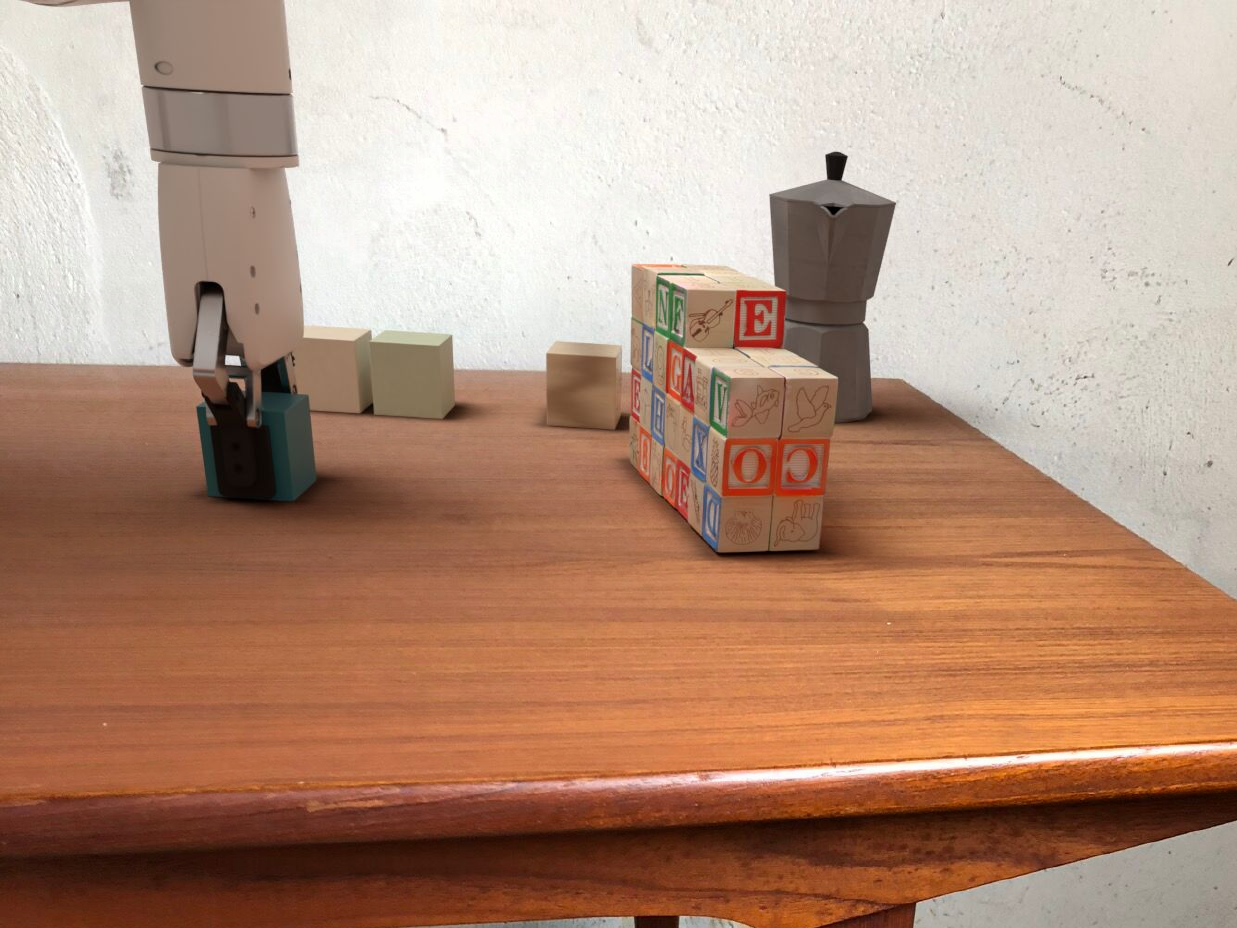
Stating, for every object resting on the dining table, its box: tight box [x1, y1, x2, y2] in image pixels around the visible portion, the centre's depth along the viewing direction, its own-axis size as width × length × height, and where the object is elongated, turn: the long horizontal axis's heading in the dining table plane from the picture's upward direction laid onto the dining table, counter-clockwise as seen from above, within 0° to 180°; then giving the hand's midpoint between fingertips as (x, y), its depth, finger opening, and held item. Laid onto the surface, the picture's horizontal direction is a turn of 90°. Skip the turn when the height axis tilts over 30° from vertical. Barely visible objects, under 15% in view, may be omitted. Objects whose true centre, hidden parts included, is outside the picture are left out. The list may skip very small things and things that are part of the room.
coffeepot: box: [768, 151, 897, 424], centre depth 107 cm, size 15×9×18 cm, turn 177°
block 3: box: [545, 340, 623, 431], centre depth 102 cm, size 5×5×5 cm
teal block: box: [195, 389, 317, 503], centre depth 82 cm, size 5×5×5 cm
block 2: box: [369, 329, 456, 420], centre depth 102 cm, size 5×5×5 cm
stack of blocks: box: [629, 263, 838, 553], centre depth 82 cm, size 21×6×12 cm, turn 16°
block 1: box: [292, 324, 373, 415], centre depth 102 cm, size 5×5×5 cm
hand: (263, 481), depth 83 cm, fingers closed on teal block, 5 cm apart
